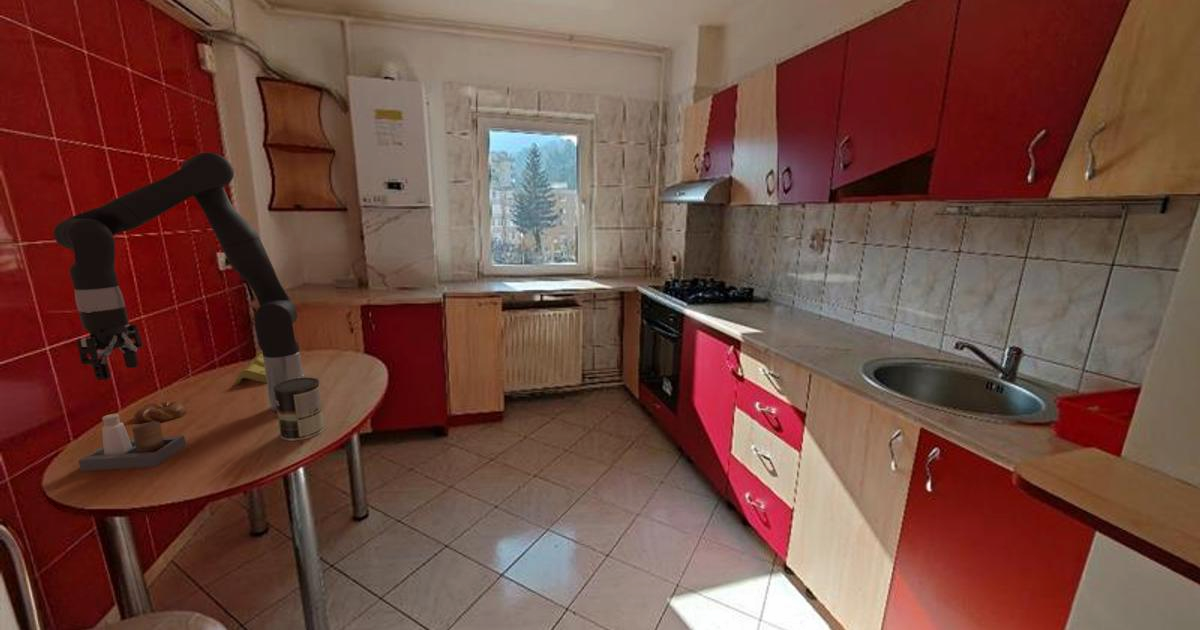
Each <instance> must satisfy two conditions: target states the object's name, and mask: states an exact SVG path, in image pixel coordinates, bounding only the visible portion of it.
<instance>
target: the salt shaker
mask: <svg viewBox="0 0 1200 630" xmlns="http://www.w3.org/2000/svg"><path fill="white" fill-rule="evenodd" d="M101 420H102V422H103V426H102V427H101V430H102V441H103V442H102V443H103V446H104V455H112V454H122V453H124V452H125V451H127V450H129V449H130V448H132V445H131V442H130V440H129V439H130V437H129V435H128V433H127V430H126V427H125V424H124V423H123V422H120V415H119V413H111V414H107V415H104V416H102V418H101Z"/></svg>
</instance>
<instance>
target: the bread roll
mask: <svg viewBox="0 0 1200 630" xmlns="http://www.w3.org/2000/svg"><path fill="white" fill-rule="evenodd" d="M186 409H187V406H186V404H183V403H181V402H178V401H171V402H168V401H162V402H156V403H150V404H147V405H144V406H143V407H141V408H139V409H138V410H137V411H136V412H135V413H134V417H133V418H134V422H136V423H137V424H143V423H148V422H160V423H162V422H168V421H170V420H172V419H178V418H182V417H184V416H185V415H186V413H187V410H186Z"/></svg>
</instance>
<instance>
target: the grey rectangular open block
mask: <svg viewBox="0 0 1200 630" xmlns="http://www.w3.org/2000/svg"><path fill="white" fill-rule="evenodd" d="M129 440H130V442H131V445H132V448H130V449H129V450H127V451H125V452H124V453H122V454H112V455H104V445H103V446H101V447H100V448H98V449H96V450H94V451H92V452H91V453H89V454H88V455H85V456H84V457H82V458H80V459H78V464H79V469H80V472H90V471H93V472H94V471H107V470H120V469H121V470H122V469H123V470H124V469H135V468H153V467H155V468H156V467H157V466H159V465H160V464H162V463H163V462H164V461H166V460H168V459H169V458H170V457H172V456H173V455H174V454H176V453H178V452H179V451H180V450H182V449H183V448H184V447H186V446H187V444H186V443H187V442H186V439H185V435H171V436H170V435H169V436H163V440H164V445H165V446H164V447H162V448H161V449H159V450H158V451H156V452H145V453H137V449H136V444H135V440H134V437H133V438H129Z"/></svg>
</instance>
